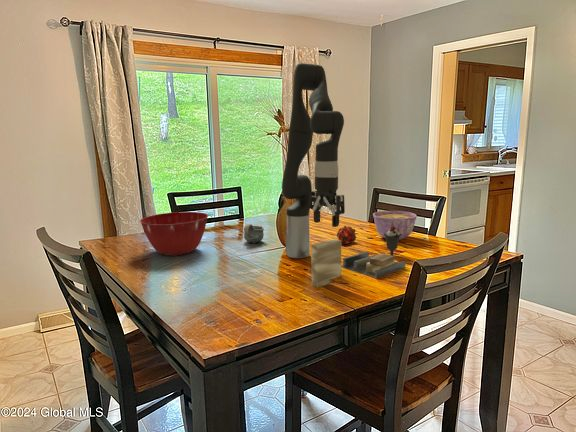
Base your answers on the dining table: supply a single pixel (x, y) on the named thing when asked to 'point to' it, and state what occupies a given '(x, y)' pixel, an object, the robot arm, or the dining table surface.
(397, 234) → the sundae
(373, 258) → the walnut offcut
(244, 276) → the dining table surface
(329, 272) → the pale wood block
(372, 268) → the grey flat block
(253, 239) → the mug
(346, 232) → the dragon fruit
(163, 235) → the mixing bowl
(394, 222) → the bowl of food
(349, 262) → the rack
